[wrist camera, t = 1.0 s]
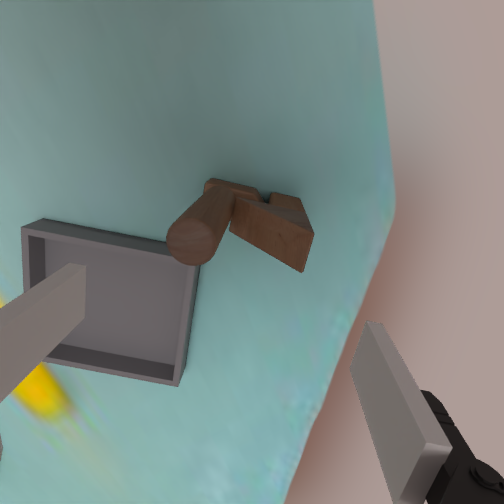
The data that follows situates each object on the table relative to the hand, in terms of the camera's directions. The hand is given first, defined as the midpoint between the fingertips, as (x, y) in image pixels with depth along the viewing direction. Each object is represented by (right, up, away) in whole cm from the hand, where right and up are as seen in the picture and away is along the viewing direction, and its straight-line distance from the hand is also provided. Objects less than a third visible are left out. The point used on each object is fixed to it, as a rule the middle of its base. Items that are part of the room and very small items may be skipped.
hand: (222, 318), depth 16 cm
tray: (-16, -3, +30) cm, 34 cm away
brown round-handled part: (+2, +9, +25) cm, 26 cm away
